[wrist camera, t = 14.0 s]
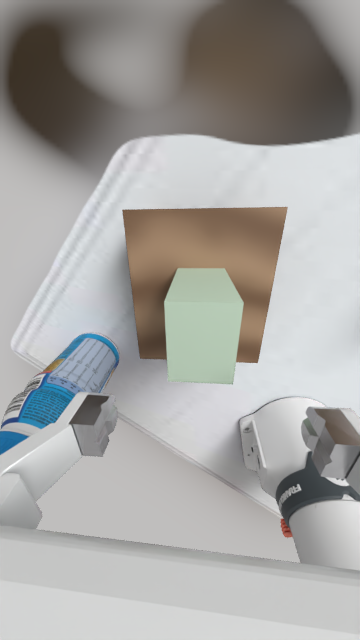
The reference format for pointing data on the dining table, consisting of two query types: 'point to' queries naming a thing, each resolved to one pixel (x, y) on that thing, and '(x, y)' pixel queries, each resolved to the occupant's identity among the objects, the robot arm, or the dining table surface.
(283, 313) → the dining table surface
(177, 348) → the sage block
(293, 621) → the robot arm
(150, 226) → the wooden footstool
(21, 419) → the beverage bottle
